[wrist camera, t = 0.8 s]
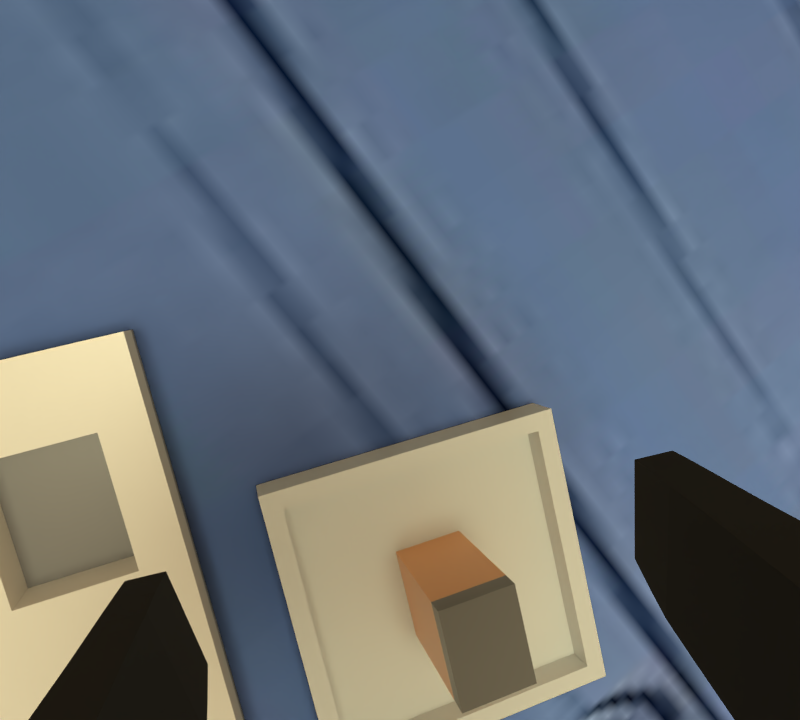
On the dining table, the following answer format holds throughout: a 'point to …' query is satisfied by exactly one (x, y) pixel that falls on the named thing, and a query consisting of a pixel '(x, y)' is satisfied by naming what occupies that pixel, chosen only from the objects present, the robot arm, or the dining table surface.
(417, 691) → the tray
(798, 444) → the dining table surface
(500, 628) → the plug
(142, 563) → the power strip
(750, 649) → the robot arm
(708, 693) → the dining table surface
